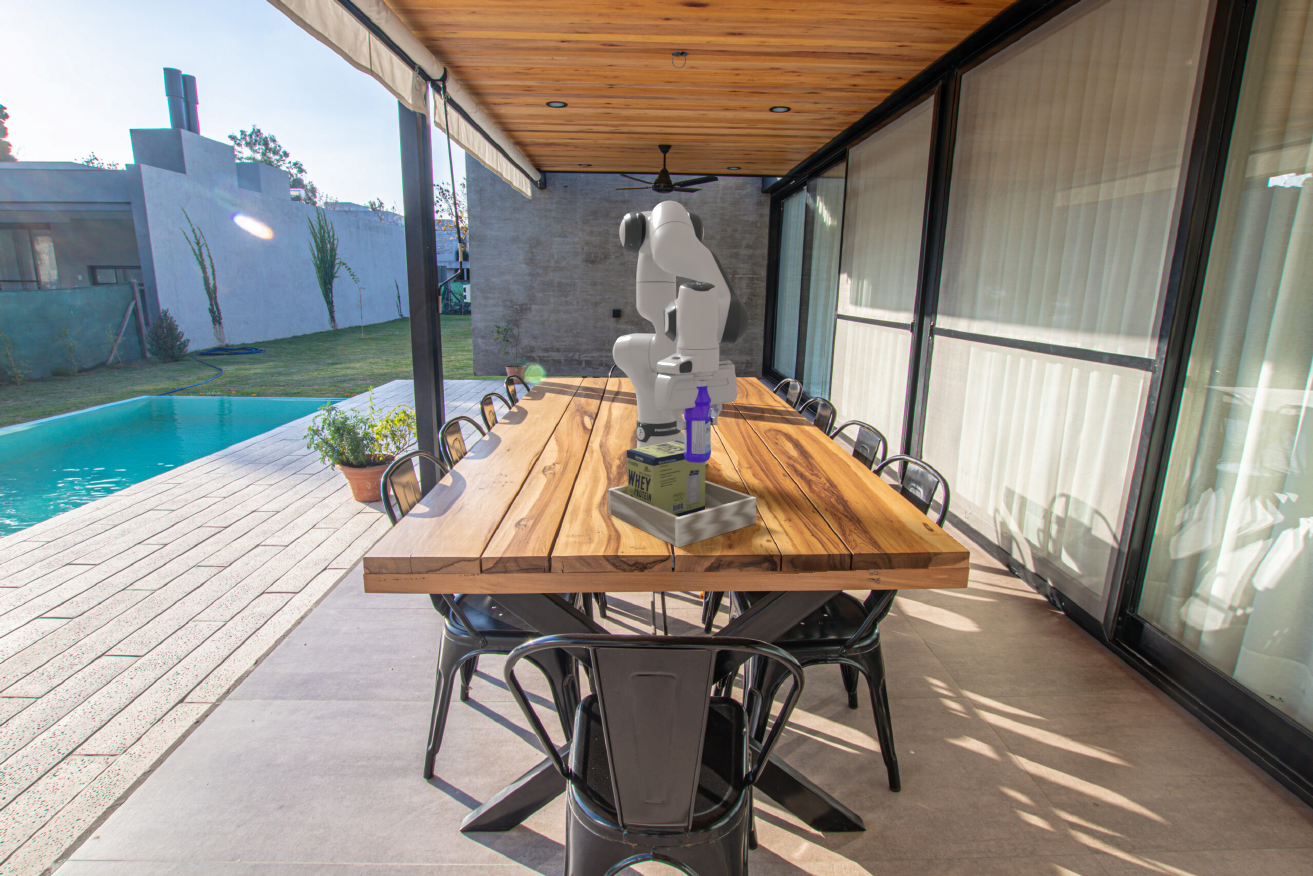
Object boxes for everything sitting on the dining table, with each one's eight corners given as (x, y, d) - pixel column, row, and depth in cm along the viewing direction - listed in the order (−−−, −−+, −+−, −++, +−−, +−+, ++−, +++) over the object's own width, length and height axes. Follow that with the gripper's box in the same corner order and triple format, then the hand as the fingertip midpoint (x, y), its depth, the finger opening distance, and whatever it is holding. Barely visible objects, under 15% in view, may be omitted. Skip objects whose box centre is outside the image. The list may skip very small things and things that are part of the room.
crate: (681, 495, 162) (681, 472, 161) (755, 523, 142) (756, 497, 140) (608, 513, 149) (607, 489, 148) (678, 547, 129) (678, 519, 128)
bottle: (708, 464, 133) (709, 381, 130) (681, 463, 134) (681, 381, 131) (712, 456, 140) (713, 377, 137) (687, 455, 141) (687, 376, 138)
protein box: (626, 514, 149) (625, 449, 145) (678, 500, 158) (678, 439, 155) (653, 526, 141) (653, 458, 137) (706, 511, 150) (707, 447, 146)
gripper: (724, 357, 141) (723, 419, 144) (649, 364, 129) (650, 430, 132) (744, 359, 136) (743, 423, 139) (668, 366, 125) (669, 435, 128)
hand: (697, 427), depth 136 cm, fingers closed on bottle, 7 cm apart
